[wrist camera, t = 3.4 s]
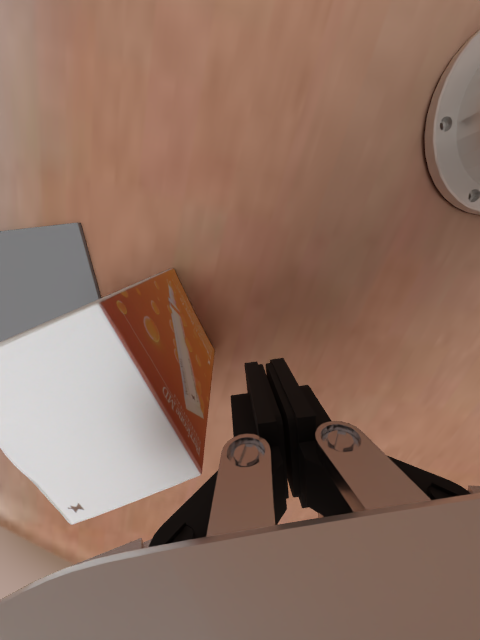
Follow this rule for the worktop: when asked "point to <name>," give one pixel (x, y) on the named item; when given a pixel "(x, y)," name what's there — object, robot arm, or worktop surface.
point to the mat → (43, 276)
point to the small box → (109, 398)
